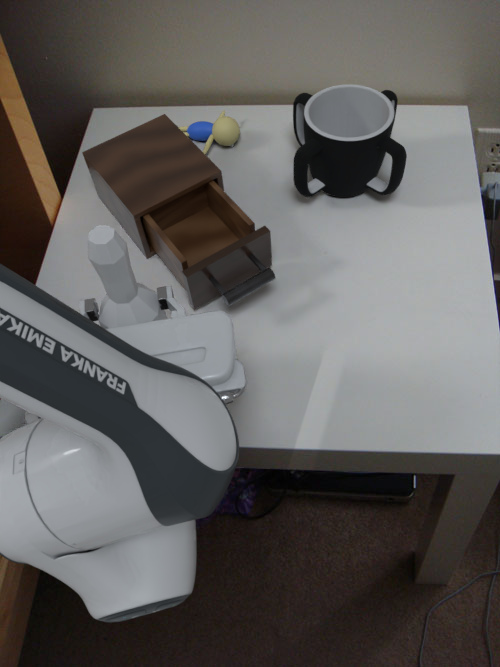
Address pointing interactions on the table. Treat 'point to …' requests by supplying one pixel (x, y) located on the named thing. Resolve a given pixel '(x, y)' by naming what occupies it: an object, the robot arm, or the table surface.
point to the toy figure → (214, 131)
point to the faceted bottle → (120, 282)
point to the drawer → (210, 245)
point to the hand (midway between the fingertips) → (126, 296)
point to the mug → (346, 141)
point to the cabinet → (147, 173)
